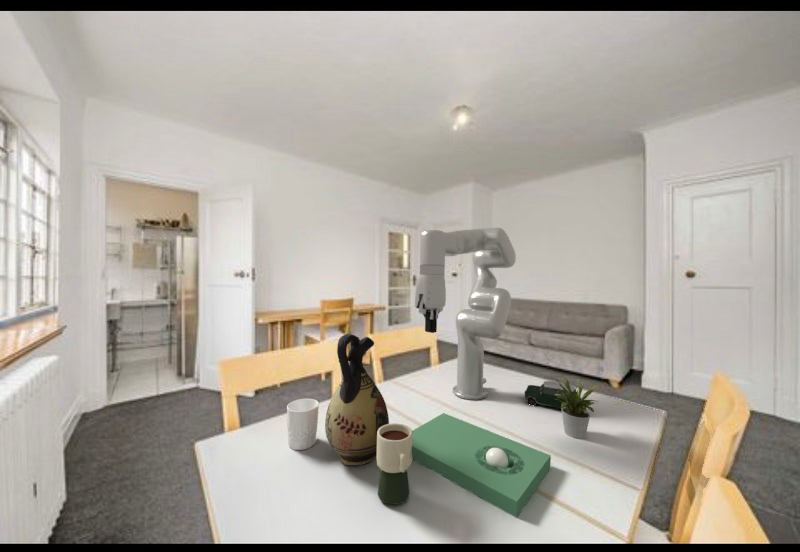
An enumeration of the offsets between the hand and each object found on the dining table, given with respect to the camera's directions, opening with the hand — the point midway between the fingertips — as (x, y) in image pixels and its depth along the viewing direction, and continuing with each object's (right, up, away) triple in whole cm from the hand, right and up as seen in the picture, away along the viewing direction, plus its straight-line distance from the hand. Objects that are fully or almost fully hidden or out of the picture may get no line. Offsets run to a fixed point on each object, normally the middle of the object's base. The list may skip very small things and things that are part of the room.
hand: (430, 331), depth 92 cm
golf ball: (+13, -25, -23) cm, 36 cm away
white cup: (-35, -27, -13) cm, 46 cm away
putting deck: (+8, -28, -19) cm, 34 cm away
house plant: (+39, -28, -5) cm, 49 cm away
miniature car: (+44, -28, +13) cm, 54 cm away
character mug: (-11, -27, -31) cm, 43 cm away
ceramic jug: (-20, -27, -18) cm, 38 cm away
